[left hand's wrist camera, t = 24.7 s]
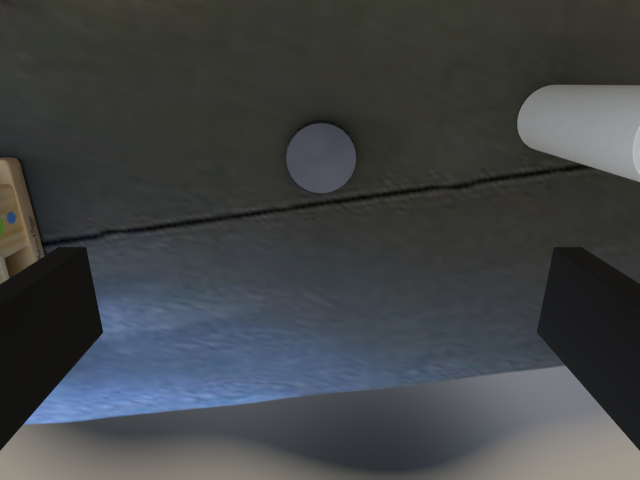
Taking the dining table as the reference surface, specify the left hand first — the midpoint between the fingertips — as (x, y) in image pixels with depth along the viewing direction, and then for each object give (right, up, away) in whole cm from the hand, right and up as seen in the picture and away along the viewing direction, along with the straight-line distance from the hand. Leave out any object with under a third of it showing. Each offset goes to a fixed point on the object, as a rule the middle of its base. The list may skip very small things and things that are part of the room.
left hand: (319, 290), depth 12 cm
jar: (+19, +12, +24) cm, 33 cm away
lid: (0, +8, +23) cm, 25 cm away
